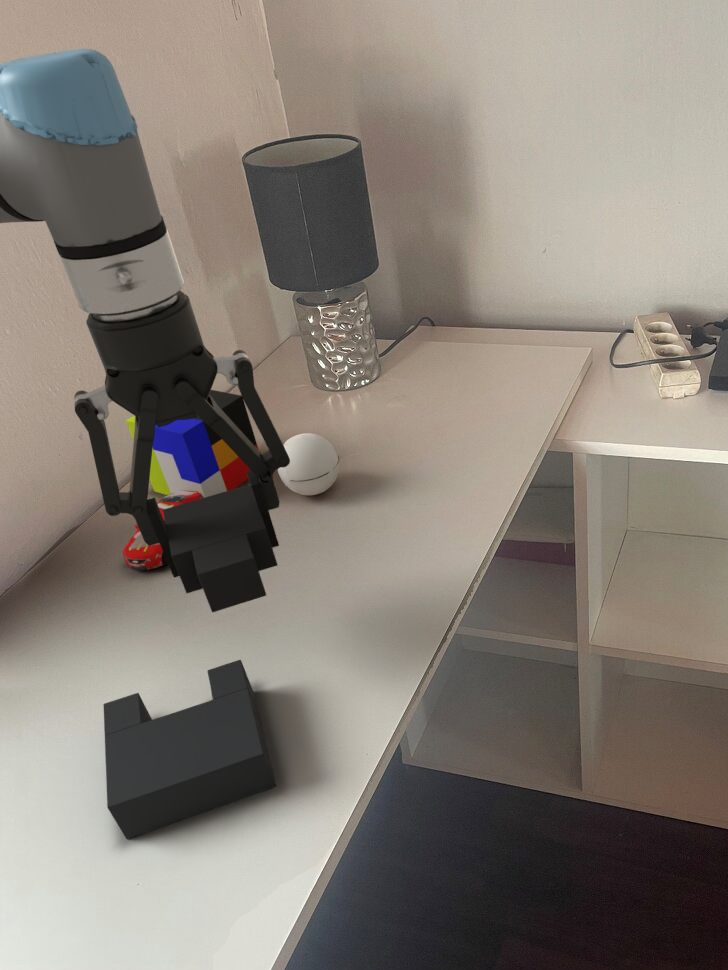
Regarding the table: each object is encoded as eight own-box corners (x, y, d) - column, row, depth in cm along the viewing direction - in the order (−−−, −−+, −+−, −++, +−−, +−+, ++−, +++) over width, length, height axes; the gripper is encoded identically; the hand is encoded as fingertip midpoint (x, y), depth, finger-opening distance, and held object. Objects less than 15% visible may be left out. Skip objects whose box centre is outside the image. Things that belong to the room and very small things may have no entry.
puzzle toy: (208, 507, 105) (182, 434, 99) (154, 491, 110) (125, 420, 104) (264, 467, 111) (242, 395, 105) (210, 453, 116) (186, 384, 110)
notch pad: (120, 735, 76) (103, 703, 74) (253, 691, 78) (240, 658, 76) (126, 839, 67) (107, 807, 65) (276, 786, 69) (263, 753, 67)
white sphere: (279, 510, 102) (263, 456, 98) (292, 477, 108) (277, 424, 104) (362, 503, 101) (349, 448, 97) (370, 470, 107) (358, 416, 102)
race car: (159, 577, 95) (146, 548, 92) (119, 573, 97) (105, 544, 94) (219, 510, 104) (208, 482, 102) (181, 507, 106) (169, 479, 103)
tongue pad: (177, 545, 80) (162, 509, 77) (261, 520, 81) (250, 484, 79) (191, 619, 71) (175, 581, 68) (286, 589, 72) (274, 551, 70)
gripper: (-17, 356, 58) (109, 613, 72) (284, 283, 62) (346, 540, 76) (-10, 320, 64) (105, 566, 78) (265, 256, 68) (327, 500, 82)
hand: (224, 553), depth 77 cm, fingers closed on tongue pad, 8 cm apart
